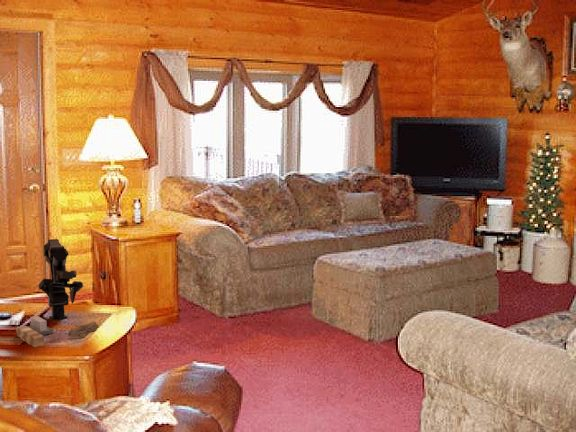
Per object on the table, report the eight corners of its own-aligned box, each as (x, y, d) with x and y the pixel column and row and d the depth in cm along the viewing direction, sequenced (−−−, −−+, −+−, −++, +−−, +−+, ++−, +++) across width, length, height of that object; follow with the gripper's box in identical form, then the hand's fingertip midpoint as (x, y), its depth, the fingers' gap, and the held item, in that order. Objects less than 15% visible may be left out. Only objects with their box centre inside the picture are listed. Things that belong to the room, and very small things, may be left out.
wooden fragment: (80, 341, 310) (79, 339, 310) (57, 339, 313) (57, 336, 313) (107, 323, 335) (107, 321, 335) (86, 321, 338) (86, 319, 338)
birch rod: (16, 337, 315) (16, 327, 314) (25, 335, 317) (25, 325, 317) (34, 347, 302) (33, 337, 301) (43, 345, 304) (43, 335, 304)
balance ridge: (24, 330, 323) (23, 317, 322) (41, 326, 328) (41, 314, 327) (35, 336, 314) (35, 323, 313) (53, 333, 320) (52, 320, 319)
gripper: (47, 261, 315) (50, 293, 308) (86, 265, 327) (90, 296, 320) (36, 272, 322) (39, 304, 315) (75, 276, 334) (79, 306, 327)
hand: (63, 302), depth 319 cm, fingers open, 9 cm apart
